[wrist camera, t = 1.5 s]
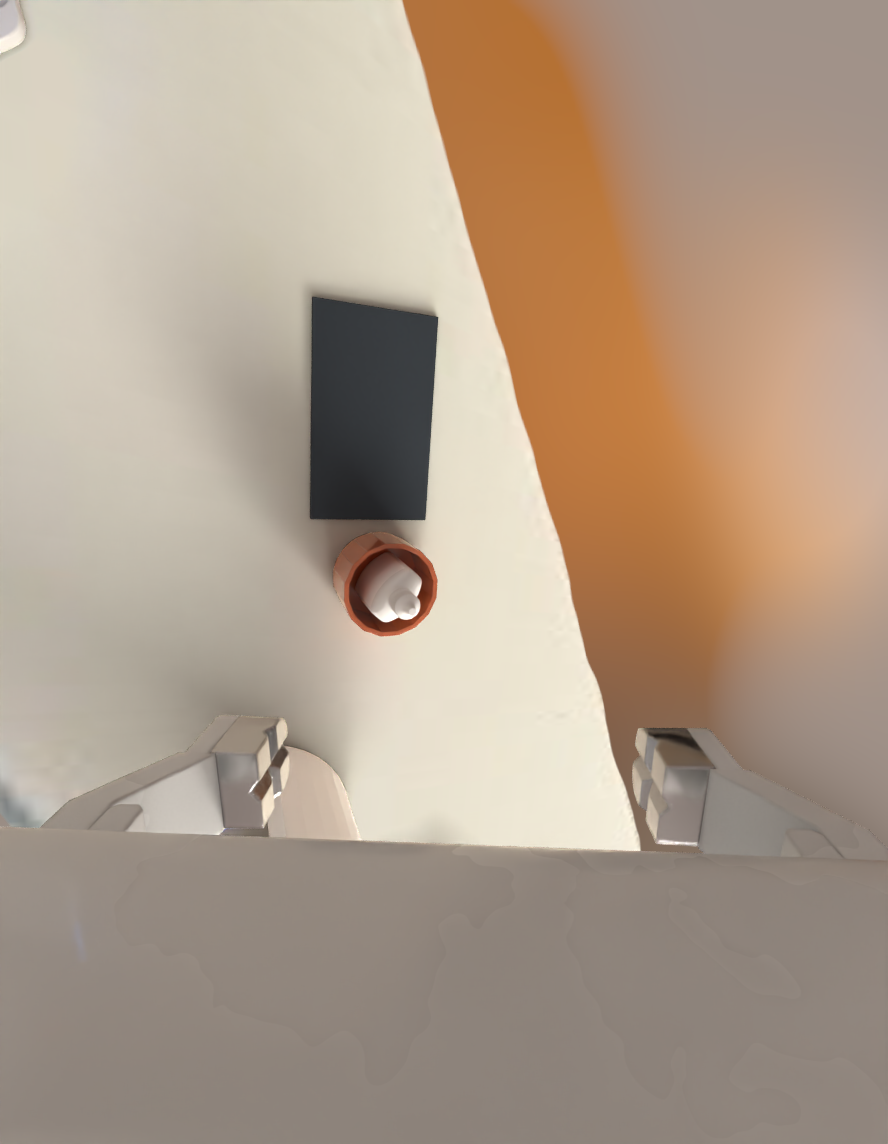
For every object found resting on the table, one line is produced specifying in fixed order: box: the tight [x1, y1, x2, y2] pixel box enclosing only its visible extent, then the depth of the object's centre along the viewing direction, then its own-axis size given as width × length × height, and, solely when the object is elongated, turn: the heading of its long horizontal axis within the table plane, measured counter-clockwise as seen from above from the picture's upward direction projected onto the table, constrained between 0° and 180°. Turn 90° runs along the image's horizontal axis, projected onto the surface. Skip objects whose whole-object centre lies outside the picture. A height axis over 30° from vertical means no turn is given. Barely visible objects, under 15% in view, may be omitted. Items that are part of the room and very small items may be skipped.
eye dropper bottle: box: [355, 552, 422, 622], centre depth 51 cm, size 4×6×12 cm
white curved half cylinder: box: [268, 746, 361, 840], centre depth 46 cm, size 35×11×21 cm
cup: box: [333, 532, 437, 636], centre depth 54 cm, size 9×9×6 cm
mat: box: [310, 297, 438, 520], centre depth 52 cm, size 20×12×1 cm, turn 176°
